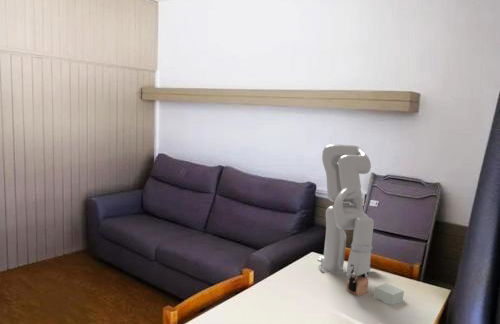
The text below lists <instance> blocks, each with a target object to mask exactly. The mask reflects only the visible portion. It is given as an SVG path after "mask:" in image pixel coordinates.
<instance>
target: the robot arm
mask: <svg viewBox="0 0 500 324" xmlns="http://www.w3.org/2000/svg"><path fill="white" fill-rule="evenodd" d="M321 158H322V159H321V160H322V164H323V167H324V171H325V175H326V176H325V177H326V189H327V190H326V192H327V193H326V194H327V198H328V200H329V201H330V202H333V205H330V206H328V207H327V208H326V210H325V236H324V237H325V239H324V248H323V249H324V250H323V256H321V255H320V256H318V258H317V259H316V260H317V262H319V263H320V264H319V267H318V268H319V271H320V272H322V273H324V274H327V273H331V274H343V273H345V272H346V278H347V279H349V288H348V289H349V290H351V291H353V292H356V284H357V283H356V279H357V276H359V275H360V276H363V277H365V278H367V279H368V275H369V273H370V271H371V259H372V258H371V257H372V254H371V246H372V242H373V234H374V233H373V232H374V227H375V226H374V225H375V223H374V222H375V221H374V219H373V218H371V217H369V216H368V214H367V213H366V212H364V205H363V194H362V193H363V192H362V184H361V178H360V175H366V174H369V173H370V171H371V168H372V165H371V164H372V163H371V160H370V158H369V156H368V155H367V154H366V153H365V151H364V150H363V149H362V148H361V147H360V146H358V145H349V144H338V143H337V144H328V145H326V146H324V148H323V151H322V157H321ZM345 203H347V205H346V204H345ZM348 203H349V205H348ZM346 230H347V231H348V230H351V231H352V230H353V233H352V242H351V244H352V250H351V249H350V251H349V255H348V260H347V266H346V267H345V266H344V265H345V264H344V263H345V254H346V253H345V252H346V245H347V243H346V242H347V233H346ZM352 276H355V277H354V278H353V277H352Z"/></svg>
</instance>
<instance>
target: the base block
mask: <svg viewBox="0 0 500 324" xmlns="http://www.w3.org/2000/svg"><path fill="white" fill-rule="evenodd" d="M373 296H374V297H375V298H374V299H376V298H378V299H380V300H382V301H384V302H383V303H385V302H387V303H389V304H391V305H393V304H395V303H397V302H399V301H401V300H404V289H402V288H401V289H400V288H399V287H396V286H394V285H393V284H389V283H387V282H385V283H384V284H383V283H382V284H380V285H378V286H376V287H375V286H374V293H373ZM378 299H377V300H378ZM380 300H379V301H380ZM382 301H381V302H382ZM387 303H386V304H387ZM389 304H388V305H389ZM391 305H390V306H391Z"/></svg>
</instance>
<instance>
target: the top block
mask: <svg viewBox="0 0 500 324" xmlns="http://www.w3.org/2000/svg"><path fill="white" fill-rule="evenodd" d="M352 277H353V278H354V277H355V276H352ZM346 281H347V282H346V289H345V291H347V292H349V293H351V294H353V295H354V296H357V297H359V296H363V295H365V294H367V293H368V287H369V278H368V277H367V278H365V277H363V276H360V275H359V276H357V279H356V283H357V284H356V292H353V291H351V290H349V289H348V288H349V279H348V278H347V279H346Z"/></svg>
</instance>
